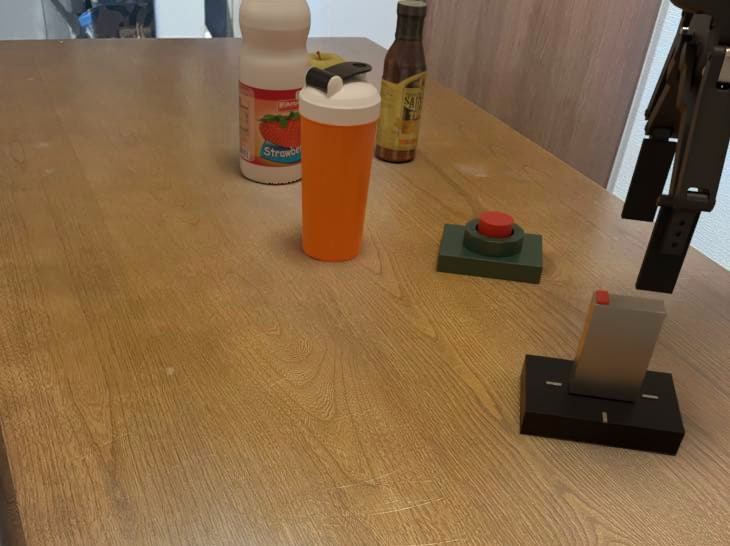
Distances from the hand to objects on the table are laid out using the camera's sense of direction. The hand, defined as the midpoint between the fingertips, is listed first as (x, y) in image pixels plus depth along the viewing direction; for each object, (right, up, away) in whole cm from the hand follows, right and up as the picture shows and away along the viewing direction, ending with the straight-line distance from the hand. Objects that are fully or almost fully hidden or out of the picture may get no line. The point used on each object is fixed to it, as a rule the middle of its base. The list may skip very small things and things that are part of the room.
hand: (644, 252), depth 71 cm
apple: (-27, +49, +74) cm, 93 cm away
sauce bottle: (-16, +34, +59) cm, 69 cm away
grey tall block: (0, -10, +9) cm, 14 cm away
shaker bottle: (-25, +12, +34) cm, 44 cm away
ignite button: (-6, +13, +31) cm, 34 cm away
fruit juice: (-34, +28, +51) cm, 67 cm away
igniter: (-6, +10, +34) cm, 36 cm away
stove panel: (-1, -12, +11) cm, 16 cm away
